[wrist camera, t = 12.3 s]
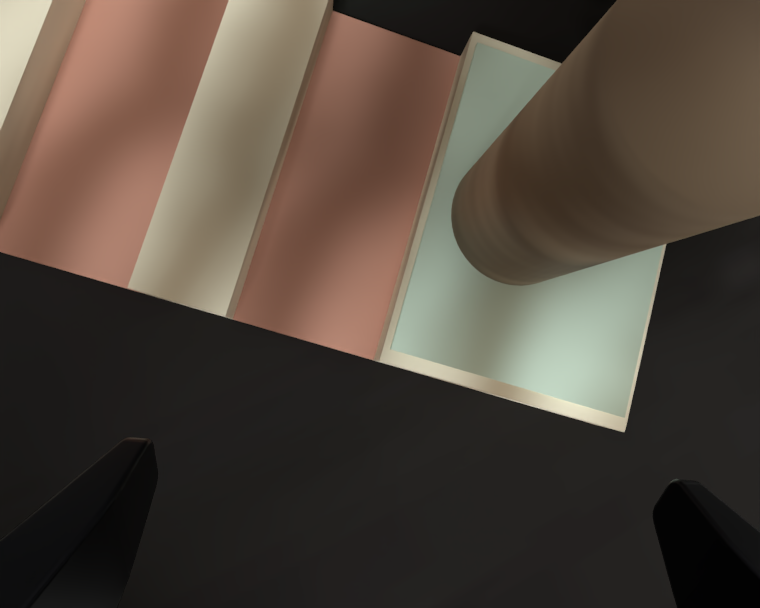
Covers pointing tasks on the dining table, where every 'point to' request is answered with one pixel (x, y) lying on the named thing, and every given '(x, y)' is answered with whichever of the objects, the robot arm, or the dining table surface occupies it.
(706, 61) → the walnut cylinder
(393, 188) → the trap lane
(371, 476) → the dining table surface
